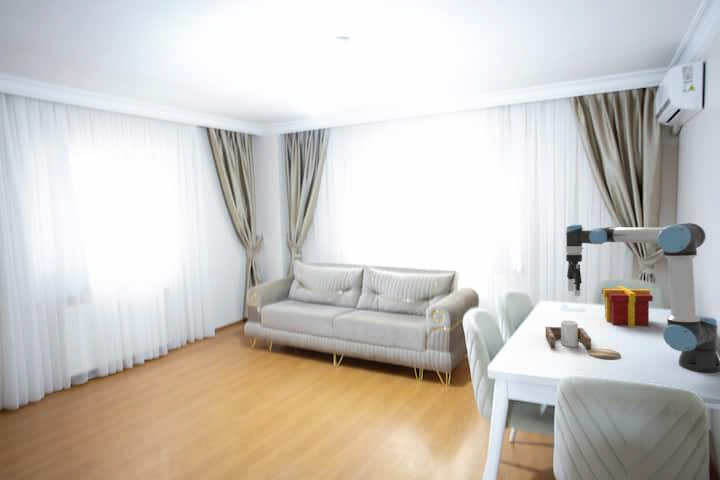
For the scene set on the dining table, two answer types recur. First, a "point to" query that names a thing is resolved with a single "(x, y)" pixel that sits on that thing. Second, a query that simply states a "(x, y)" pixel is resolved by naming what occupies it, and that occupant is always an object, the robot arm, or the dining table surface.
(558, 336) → the cradle
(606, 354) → the coaster
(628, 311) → the gift box
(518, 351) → the dining table surface
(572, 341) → the mug
